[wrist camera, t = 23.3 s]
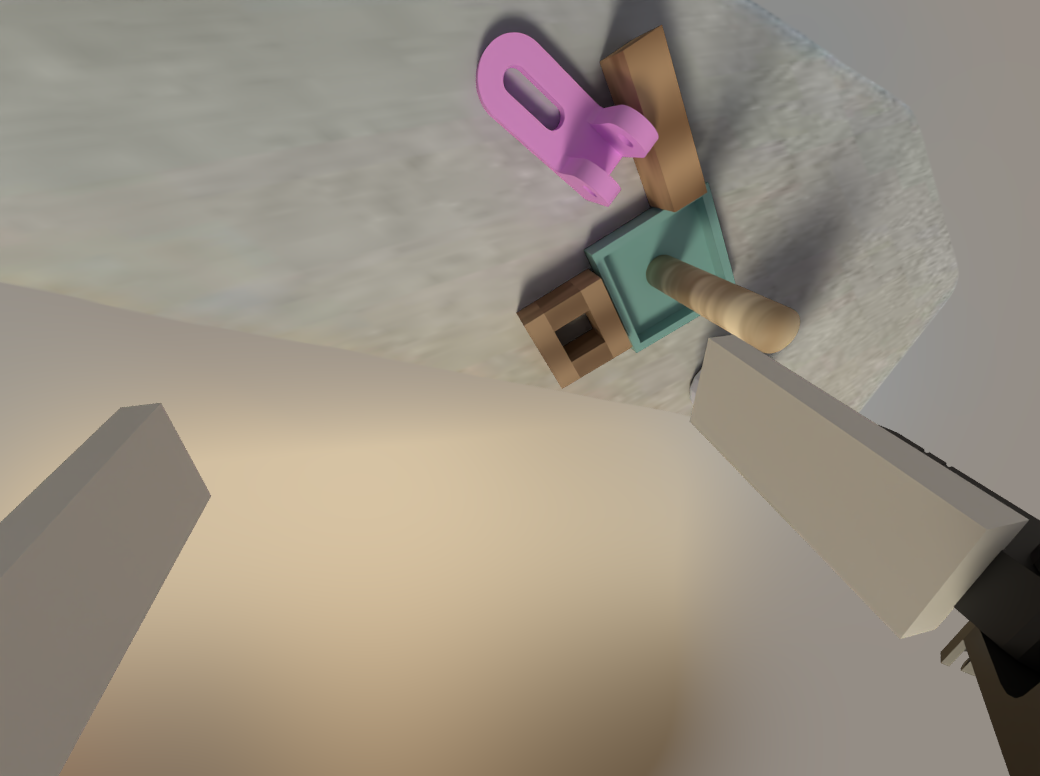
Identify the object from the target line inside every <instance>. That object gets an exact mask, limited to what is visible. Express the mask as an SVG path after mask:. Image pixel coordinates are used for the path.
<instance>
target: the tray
mask: <svg viewBox="0 0 1040 776" xmlns="http://www.w3.org/2000/svg"><path fill="white" fill-rule="evenodd" d="M705 185H706V189H707V193H706V194H704V195H702V196H701V197H699V198H698V199H696V200H694V201H693V202H691V203H690V204H688V205H686V206H685V207H683V208H681V209H680V210H678V211H677V212H671V211H668V210H664V209H660V208H656V207H652V208H650V209H649V210H647V211H645V212H644V213H642V214H641V215H639V216H637V217H636V218H634V219H633V220H631V221H629V222H628V223H626V224H625V225H623V226H621V227H620V228H618V229H617V230H615V231H613V232H612V233H610V234H609V235H607V236H605V237H604V238H602V239H601V240H599V241H597V242H596V243H594V244H593V245H591V246H589V247H588V248H586V249H585V250H584V251H585V253H586V256H587V258H588V260H589V262H590V264H591V266H592V269H593V271H594V273H595V274H596V275H597V276H599V277H600V278H601V279H602V281H603V284H604V286H605V288H606V290H607V292H608V295H609V297H610V299H611V301H612V303H613V306H614V308H615V310H616V312H617V314H618V316H619V319H620V321H621V323H622V325H623V327H624V330H625V332H626V334H627V336H628V338H629V341H630V343H631V345H632V347H631V348H632V349H633V350H634V351H635V352H636V353H638V352H639V351H641V350H643V349H644V348H646V347H648V346H649V345H651V344H653V343H654V342H656V341H658V340H660V339H661V338H663V337H665V336H666V335H668V334H670V333H671V332H673V331H675V330H676V329H678V328H680V327H681V326H683V325H685V324H687V323H688V322H690V321H692V320H693V319H695V318H697V317H698V316H700V314H698V313H696V312H694V311H693V310H691V309H689V308H688V307H686V306H684V305H683V304H681V303H679V302H678V301H676V300H674V299H673V298H671V297H669V296H668V295H666V294H664V293H663V292H661V291H659V290H658V289H656V288H654V287H653V286H651V285H650V284H649V283H648V282H647V279H646V270H647V267H648V265H649V263H650V262H651V261H652V260H653V259H654V258H655V257H657V256H659V255H669V256H672V257H674V258H676V259H678V260H681V261H683V262H685V263H688V264H690V265H692V266H695V267H697V268H699V269H702V270H704V271H706V272H708V273H711V274H713V275H715V276H718V277H720V278H722V279H725V280H727V281H729V282H731V283H734V284H735V280H734V277H733V273H732V269H731V265H730V262H729V258H728V254H727V250H726V247H725V243H724V239H723V235H722V232H721V228H720V224H719V220H718V217H717V213H716V209H715V206H714V202H713V198H712V194H711V191H710V187H709V183H708V182H705Z"/></svg>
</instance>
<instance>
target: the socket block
mask: <svg viewBox="0 0 1040 776" xmlns="http://www.w3.org/2000/svg"><path fill="white" fill-rule="evenodd" d="M584 313H586V315H587V317H588V319H589V321H590V323H591V325H592V327H593V329H591V330H590V331H588V332H587V333H585V334H583V335H582V336H580V337H578V338H577V339H575V340H573V341H572V342H570V343H568V344H567V345H565V346H562V345H561V343H560V341H559V339H558V338H557V336H556V334H555V331H556V330H558V329H559V328H561V327H563V326H564V325H566V324H568V323H569V322H571V321H573V320H574V319H576V318H578V317H579V316H581V315H582V314H584ZM517 315H518V316H519V318H520V320H521V322H522V323H523V325H524V327H525V328H526V330H527V332H528V333H529V335H530V337H531V338H532V340H533V342H534V343H535V345H536V346H537V348H538V350H539V351H540V353H541V355H542V356H543V358H544V360H545V361H546V363H547V365H548V366H549V368H550V370H551V371H552V373H553V375H554V376H555V378H556V379H557V381H558V383H559V384H560V386H561V388H562V389H563V388H564V387H566V386H568V385H569V384H571V383H573V382H574V381H576V380H578V379H579V378H581V377H583V376H584V375H586V374H588V373H589V372H591V371H593V370H594V369H596V368H598V367H599V366H601V365H603V364H605V363H606V362H608V361H610V360H611V359H613V358H615V357H616V356H618V355H620V354H621V353H623V352H625V351H626V350H628V349H630V348H631V347H632V345H631V343H630V341H629V338H628V336H627V334H626V332H625V330H624V327H623V325H622V323H621V321H620V319H619V316H618V314H617V312H616V310H615V308H614V306H613V303H612V301H611V299H610V297H609V295H608V292H607V290H606V288H605V286H604V284H603V281H602V279H601V278H600V277H599V276H597V275H596V274H594V273H593V272H592V271H590V270H589V269H587V270H585V271H583V272H582V273H580V274H579V275H577V276H575V277H574V278H572V279H570V280H569V281H567V282H566V283H564V284H562V285H561V286H559V287H558V288H556V289H554V290H553V291H551V292H549V293H548V294H546V295H545V296H543V297H541V298H540V299H538V300H537V301H535V302H533V303H532V304H530V305H529V306H527V307H525V308H524V309H522V310H520V311H519V312H517Z"/></svg>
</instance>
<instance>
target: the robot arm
mask: <svg viewBox="0 0 1040 776" xmlns="http://www.w3.org/2000/svg"><path fill="white" fill-rule="evenodd" d="M690 422H691V423H692V424H693V425H694V426H695V427H696V428H697V429H698V430H699V432H700V433H701V434H702V435H703V436H704V437H705V438H706V439H707V440H708V441H709V442H710V443H711V444H712V445H713V446H714V447H715V448H716V449H717V450H718V451H719V452H720V453H721V454H722V455H723V456H724V457H725V458H726V460H728V461H729V462H730V464H731V465H732V466H733V467H734V468H735V469H736V470H737V471H738V472H739V473H740V474H741V475H742V476H743V477H744V478H745V479H746V480H747V481H748V482H749V483H750V484H751V485H752V486H753V487H754V488H755V490H756V491H757V492H758V493H759V494H760V495H761V496H762V497H763V498H764V499H765V500H766V501H767V502H768V503H769V504H770V505H771V506H772V507H773V508H774V509H775V510H776V511H777V512H778V513H779V514H780V515H781V516H782V517H783V519H784V520H785V521H786V522H787V523H788V524H789V525H790V526H791V527H792V528H793V529H794V530H795V531H796V532H797V533H798V534H799V535H800V536H801V537H802V538H803V539H804V540H805V541H806V542H807V543H808V544H809V545H810V546H811V548H813V550H815V552H816V553H817V554H818V555H819V556H820V557H821V558H822V559H823V560H824V561H825V562H826V563H827V564H828V565H829V566H830V567H831V568H832V569H833V570H834V571H835V572H836V573H837V574H838V575H839V576H840V577H841V578H842V579H843V581H845V583H846V584H847V585H848V586H849V587H850V588H851V589H852V590H853V591H854V592H855V593H856V594H857V595H858V596H859V597H860V598H861V599H862V600H863V601H864V602H865V603H866V604H867V605H868V607H869V608H870V609H871V610H872V611H873V612H874V613H875V614H876V615H877V616H878V617H879V618H880V619H881V620H882V621H883V622H884V623H885V624H886V625H887V626H888V627H889V628H890V629H891V630H892V631H893V632H894V633H895V634H896V636H897V637H898V638H899V639H903V638H906V637H910V636H913V635H916V634H920V633H924V632H928V631H931V630H934V629H936V628H937V627H938V626H939V625H940V624H941V623H942V621H943V620H944V619H945V618H946V617H947V616H948V614H949V613H950V612H951V611H952V609H954V608H956V609H957V610H958V611H959V612H960V613H961V614H963V615H964V616H965V617H966V618H967V619H968V620H969V622H968V623H967V624H966V625H965V626H964V627H963V628H962V629H961V630H960V632H959V633H958V634H957V635H956V636H955V637H954V638H953V639H952V640H951V641H950V642H949V644H948V645H947V646H946V647H945V648H944V649H943V650H942V651H941V663H942V664H944V665H947V666H950V665H951V664H952V663H953V662H954V661H955V659H957V657H958V656H959V655H960V654H961V653H962V652H963V651H967V652H968V655H969V658H968V659H967V660H966V661H965V662H964V664H963V665H962V667H961V671H963V672H965V673H968V674H971V675H973V676H976V678H977V681H978V684H979V687H980V690H981V693H982V696H983V699H984V702H985V705H986V708H987V710H988V713H989V716H990V719H991V722H992V725H993V728H994V731H995V734H996V736H997V739H998V742H999V745H1000V748H1001V751H1002V754H1003V757H1004V760H1005V763H1006V766H1007V768H1008V771H1009V775H1010V776H1040V520H1038V519H1036V518H1035V517H1033V516H1032V515H1030V514H1028V513H1027V512H1025V511H1023V510H1022V509H1020V508H1018V507H1017V506H1015V505H1014V504H1012V503H1011V502H1009V501H1007V500H1006V499H1004V498H1002V497H1001V496H999V495H998V494H996V493H994V492H993V491H991V490H989V489H988V488H986V487H985V486H983V485H981V484H980V483H978V482H976V481H975V480H973V479H972V478H970V477H968V476H967V475H965V474H963V473H962V472H960V471H959V470H957V469H955V468H954V467H948V466H947V465H946V462H944V461H943V460H941V459H939V458H938V457H936V456H934V455H933V454H931V453H925V452H924V449H923V448H921V447H920V446H918V445H916V444H915V443H913V442H911V441H910V440H908V439H906V438H905V437H903V436H902V435H900V434H898V433H897V432H894V431H892V430H889V429H887V428H885V427H882V426H880V425H877V424H876V423H874V422H872V421H871V420H869V419H868V418H866V417H864V416H862V415H861V414H860V413H858V412H856V411H855V410H853V409H852V408H850V407H848V406H847V405H845V404H844V403H842V402H840V401H839V400H837V399H836V398H834V397H832V396H831V395H829V394H828V393H826V392H824V391H823V390H821V389H820V388H818V387H816V386H815V385H813V384H812V383H810V382H808V381H807V380H805V379H804V378H802V377H801V376H799V375H797V374H796V373H794V372H793V371H791V370H789V369H788V368H786V367H785V366H783V365H781V364H780V363H778V362H777V361H775V360H773V359H772V358H770V357H769V356H767V355H765V354H764V353H762V352H761V351H759V350H757V349H756V348H754V347H753V346H751V345H749V344H748V343H746V342H745V341H743V340H741V339H740V338H738V337H737V336H735V335H728V336H719V337H711V338H708V343H707V347H706V352H705V356H704V360H703V365H702V369H701V373H700V378H699V382H698V387H697V391H696V395H695V400H694V404H693V409H692V413H691V417H690ZM210 497H211V495H210V493H209V491H208V489H207V487H206V485H205V483H204V482H203V480H202V478H201V476H200V474H199V472H198V470H197V469H196V467H195V465H194V463H193V461H192V459H191V458H190V456H189V454H188V452H187V450H186V448H185V446H184V444H183V443H182V441H181V439H180V437H179V435H178V433H177V431H176V430H175V428H174V426H173V424H172V422H171V420H170V419H169V417H168V415H167V413H166V411H165V409H164V407H163V406H162V404H161V403H156V404H147V405H139V406H131V407H122V408H120V409H119V410H118V411H117V412H116V413H115V414H113V415H112V416H111V417H110V418H109V419H108V420H107V421H106V422H105V423H104V424H103V425H102V426H101V427H100V428H99V429H98V430H97V431H96V432H95V433H94V434H92V436H90V437H89V438H88V439H87V440H86V441H85V442H84V443H83V444H82V445H81V446H80V447H79V448H78V449H77V450H76V451H75V452H74V453H73V454H72V455H71V456H70V457H68V459H67V460H65V461H64V462H63V463H62V464H61V465H60V466H59V467H58V468H57V469H56V470H55V471H54V472H53V473H52V474H51V475H50V476H48V477H47V478H46V480H44V481H43V482H42V483H41V484H40V485H39V486H38V487H37V488H36V489H35V490H34V491H33V492H32V493H31V494H30V495H29V496H28V497H26V498H25V499H24V500H23V501H22V502H21V503H20V504H19V505H18V506H17V507H16V508H15V509H14V510H13V511H12V512H11V513H10V514H9V515H8V516H7V517H6V518H4V519H3V521H1V522H0V776H58V775H59V774H60V772H61V770H62V768H63V766H64V764H65V763H66V761H67V759H68V757H69V755H70V753H71V751H72V750H73V748H74V746H75V744H76V742H77V740H78V739H79V737H80V735H81V733H82V731H83V730H84V728H85V726H86V724H87V722H88V720H89V719H90V716H91V715H92V713H93V711H94V709H95V708H96V706H97V704H98V702H99V700H100V698H101V697H102V694H103V693H104V691H105V689H106V687H107V686H108V684H109V682H110V680H111V678H112V677H113V675H114V673H115V671H116V669H117V667H118V665H119V664H120V662H121V660H122V658H123V656H124V654H125V653H126V651H127V649H128V647H129V645H130V644H131V641H132V640H133V638H134V636H135V634H136V632H137V631H138V629H139V627H140V625H141V623H142V622H143V620H144V618H145V616H146V614H147V612H148V610H149V609H150V607H151V605H152V603H153V601H154V600H155V598H156V596H157V594H158V592H159V590H160V588H161V587H162V585H163V583H164V581H165V579H166V578H167V576H168V574H169V572H170V570H171V568H172V567H173V565H174V563H175V561H176V559H177V557H178V556H179V554H180V552H181V550H182V548H183V546H184V545H185V542H186V541H187V539H188V537H189V535H190V534H191V532H192V530H193V528H194V526H195V524H196V523H197V521H198V519H199V517H200V515H201V513H202V512H203V510H204V508H205V506H206V504H207V502H208V501H209V499H210Z"/></svg>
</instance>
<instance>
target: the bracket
mask: <svg viewBox="0 0 1040 776" xmlns="http://www.w3.org/2000/svg"><path fill="white" fill-rule="evenodd" d="M508 68H516V69H518V70H519V71H520V72H521V73H522V74H523V75H524V76H525V77H526V78H527V79H528V80H529V81H530V82H531V83H532V84H533V85H534V86H536V87H537V88H538V89H539V90H540V91H541V92H542V93H543V94H544V95H545V96H546V97H547V98H548V99H549V100H550V101H551V102H552V103H553V104H554V105H555V106H556V107H557V108H558V109H559V112H560V123H559V125H558V126H557V128H556V129H554V130H552V131H551V130H548V129H547V128H546V127H545V126H544V125H543V124H541V123H540V122H539V121H538V120H537V119H536V118H535V117H534V116H533V115H532V114H531V113H530V112H528V111H527V110H526V109H525V108H524V107H523V106H522V105H521V104H520V103H519V102H518V101H517V100H515V99H514V98H513V97H512V96H511V95H510V94H509V93H508V92H507V91H506V89H505V87H504V84H503V76H504V73H505V71H506V70H507V69H508ZM476 88H477V93H478V96H479V99H480V102H481V104H482V106H483V107H484V109H485V110H486V112H487V113H488V114H489V115H490V116H491V117H492V118H493V119H494V120H495V121H497V122H498V123H499V124H500V125H501V126H502V127H503V128H505V129H506V130H507V131H508V132H509V133H510V134H511V135H513V136H514V137H515V138H516V139H517V140H518V141H519V142H521V143H522V144H523V145H524V146H525V147H526V148H527V149H529V150H530V151H531V152H532V153H533V154H534V155H535V156H537V157H538V158H539V159H540V160H541V161H542V162H543V163H545V164H546V165H547V166H548V167H549V168H550V169H551V170H553V171H554V172H555V173H556V174H557V175H558V176H559V177H561V178H562V179H563V180H564V181H565V182H566V183H567V184H569V185H570V186H571V187H572V188H573V189H574V190H575V191H577V192H578V193H579V194H580V195H581V196H582V197H583V198H585V199H586V200H588V201H591V202H595V203H598V204H601V205H604V206H607V207H609V205H610V204H611V203H612V201H613V200H614V199H615V197H616V196H617V195H618V193H619V192H620V190H621V188H620V186H619V185H618V184H617V182H616V181H615V180H614V179H613V178H612V177H611V176H610V174H611V172H612V171H613V169H614V168H615V167H616V165H617V164H618V162H619V161H620V160H621V158H622V157H636V158H644V157H645V156H646V155H647V154H648V152H649V151H650V149H651V148H652V147H653V145H654V144H655V143H656V141H657V140H658V133H657V131H656V129H655V128H654V127H653V125H652V124H651V123H650V122H649V121H648V120H647V119H646V118H645V117H644V116H643V115H642V114H640V113H639V112H638V111H636V110H635V109H633V108H631V107H629V106H627V105H617V106H612V107H607V108H602V107H600V106H599V105H598V104H597V103H596V102H595V101H594V100H593V99H592V98H591V97H590V96H589V95H588V94H587V93H586V92H585V91H584V90H583V89H582V88H581V87H580V86H579V85H578V84H577V83H576V82H575V81H574V80H573V79H572V78H571V77H570V76H569V75H568V73H567V72H566V71H565V70H564V69H563V68H562V67H561V66H560V65H559V64H558V63H557V62H556V61H555V60H554V59H553V58H552V57H551V56H550V55H549V54H548V53H547V52H546V51H545V50H544V49H543V48H542V47H541V46H540V45H539V44H538V43H537V42H536V41H535V40H534V39H532V38H531V37H529V36H527V35H525V34H522V33H516V32H512V33H506V34H503V35H501V36H499V37H497V38H496V39H494V40H493V41H492V42H491V43H490V44H489V45H488V47H487V48H486V49H485V51H484V52H483V54H482V56H481V58H480V60H479V63H478V66H477V71H476Z"/></svg>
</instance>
